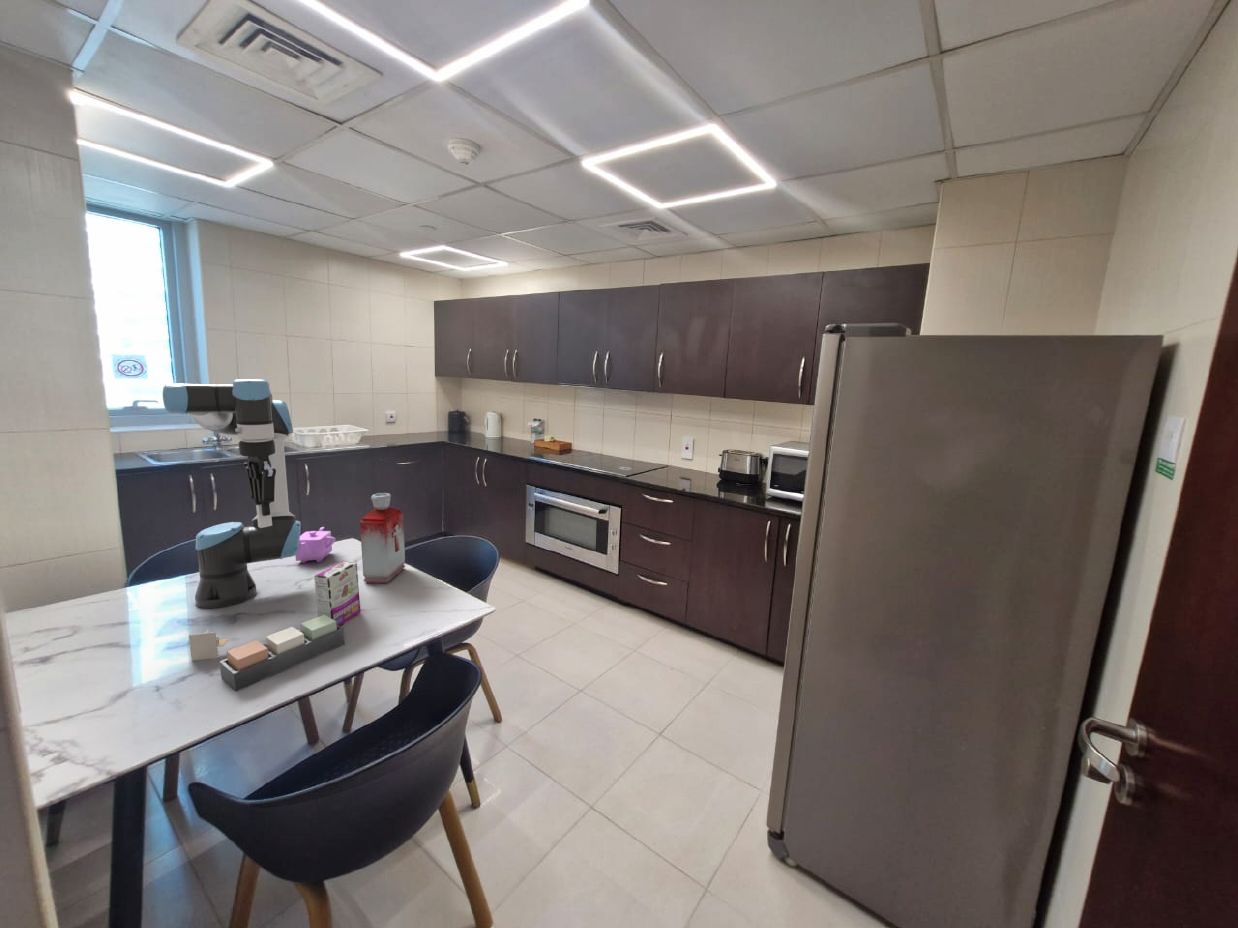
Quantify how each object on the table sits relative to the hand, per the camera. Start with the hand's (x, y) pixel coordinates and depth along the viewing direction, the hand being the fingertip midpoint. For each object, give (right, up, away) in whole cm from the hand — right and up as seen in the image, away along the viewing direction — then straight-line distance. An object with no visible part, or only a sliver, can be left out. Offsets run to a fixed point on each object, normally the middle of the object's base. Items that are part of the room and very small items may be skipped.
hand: (265, 526), depth 131 cm
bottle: (+11, -24, +44) cm, 51 cm away
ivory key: (+11, -31, -8) cm, 34 cm away
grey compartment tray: (+11, -33, -8) cm, 36 cm away
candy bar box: (+13, -30, +12) cm, 35 cm away
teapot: (-22, -20, +56) cm, 63 cm away
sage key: (+16, -30, -1) cm, 34 cm away
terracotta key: (+7, -32, -15) cm, 36 cm away
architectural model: (-9, -33, -8) cm, 35 cm away
